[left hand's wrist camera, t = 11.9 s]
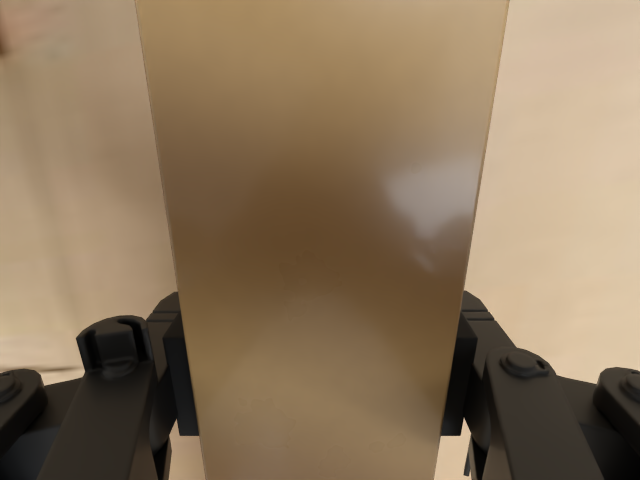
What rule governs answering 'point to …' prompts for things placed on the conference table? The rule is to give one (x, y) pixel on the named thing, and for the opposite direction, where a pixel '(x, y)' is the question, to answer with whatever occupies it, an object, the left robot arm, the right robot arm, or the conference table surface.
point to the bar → (321, 220)
